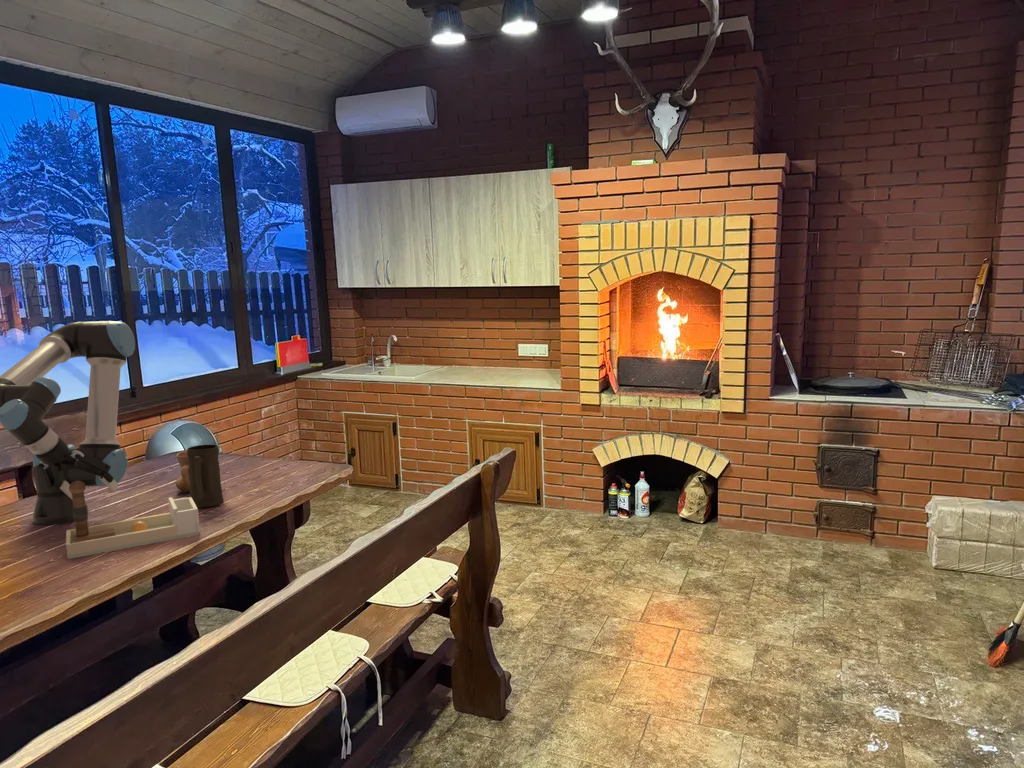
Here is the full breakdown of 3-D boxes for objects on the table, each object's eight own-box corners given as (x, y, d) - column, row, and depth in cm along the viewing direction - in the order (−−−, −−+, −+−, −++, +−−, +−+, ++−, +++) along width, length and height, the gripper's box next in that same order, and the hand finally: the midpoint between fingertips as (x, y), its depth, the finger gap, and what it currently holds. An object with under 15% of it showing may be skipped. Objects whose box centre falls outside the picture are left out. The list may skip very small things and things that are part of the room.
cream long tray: (68, 543, 209) (64, 513, 207) (193, 521, 226) (190, 493, 225) (67, 559, 197) (64, 528, 195) (199, 534, 214) (197, 505, 213)
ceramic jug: (191, 482, 268) (188, 446, 266) (228, 483, 267) (225, 446, 265) (164, 497, 251) (160, 458, 248) (203, 498, 249) (200, 459, 247)
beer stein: (190, 501, 246) (185, 444, 243) (224, 497, 250) (219, 441, 247) (187, 514, 232) (182, 455, 229) (223, 510, 236) (218, 452, 233)
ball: (132, 533, 213) (130, 521, 212) (147, 531, 215) (145, 518, 214) (133, 537, 209) (131, 525, 209) (148, 535, 211) (146, 522, 211)
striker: (75, 542, 206) (68, 480, 203) (114, 535, 211) (108, 474, 208) (75, 548, 202) (68, 484, 199) (115, 541, 207) (109, 478, 204)
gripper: (3, 465, 199) (55, 511, 212) (78, 445, 194) (127, 494, 208) (16, 446, 205) (67, 492, 218) (90, 426, 200) (137, 475, 213)
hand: (96, 493), depth 213 cm, fingers open, 13 cm apart
